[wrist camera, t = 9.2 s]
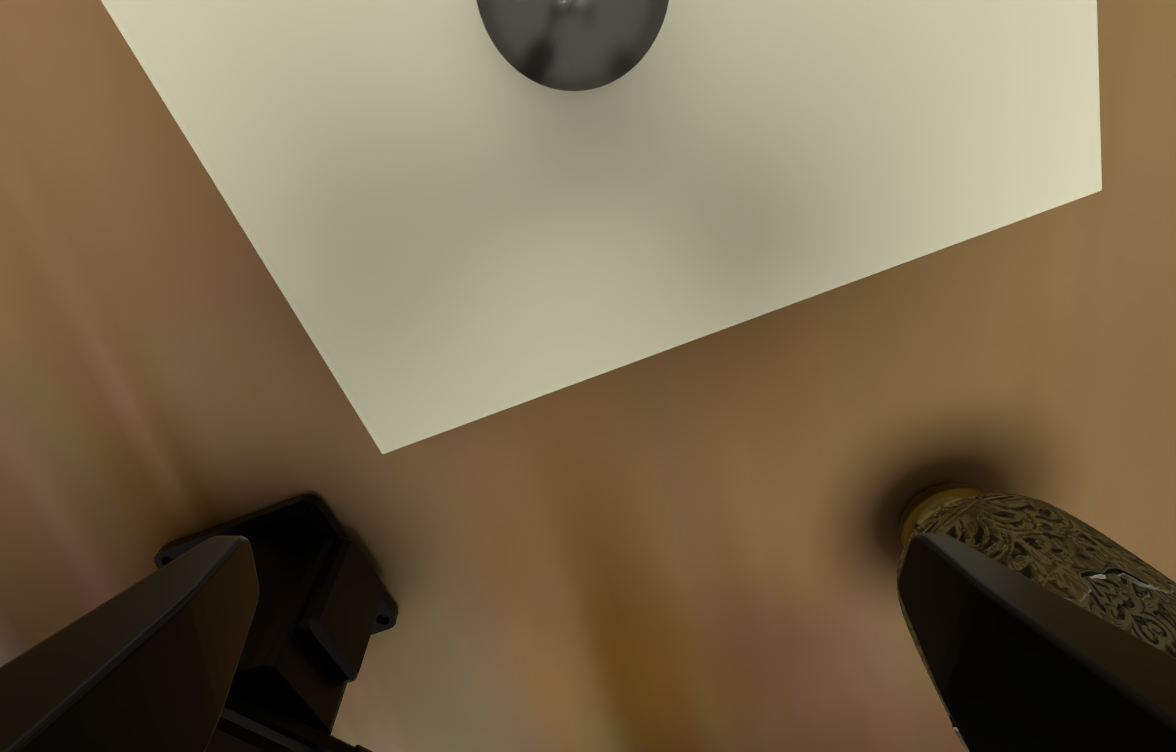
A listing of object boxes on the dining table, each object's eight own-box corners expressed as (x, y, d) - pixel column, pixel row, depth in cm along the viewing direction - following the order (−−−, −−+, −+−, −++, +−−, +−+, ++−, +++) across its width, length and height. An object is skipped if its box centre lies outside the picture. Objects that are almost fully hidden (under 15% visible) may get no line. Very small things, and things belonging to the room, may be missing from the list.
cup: (834, 596, 27) (939, 793, 20) (850, 442, 24) (983, 609, 16) (1014, 577, 27) (1184, 766, 20) (1054, 421, 24) (1276, 578, 17)
